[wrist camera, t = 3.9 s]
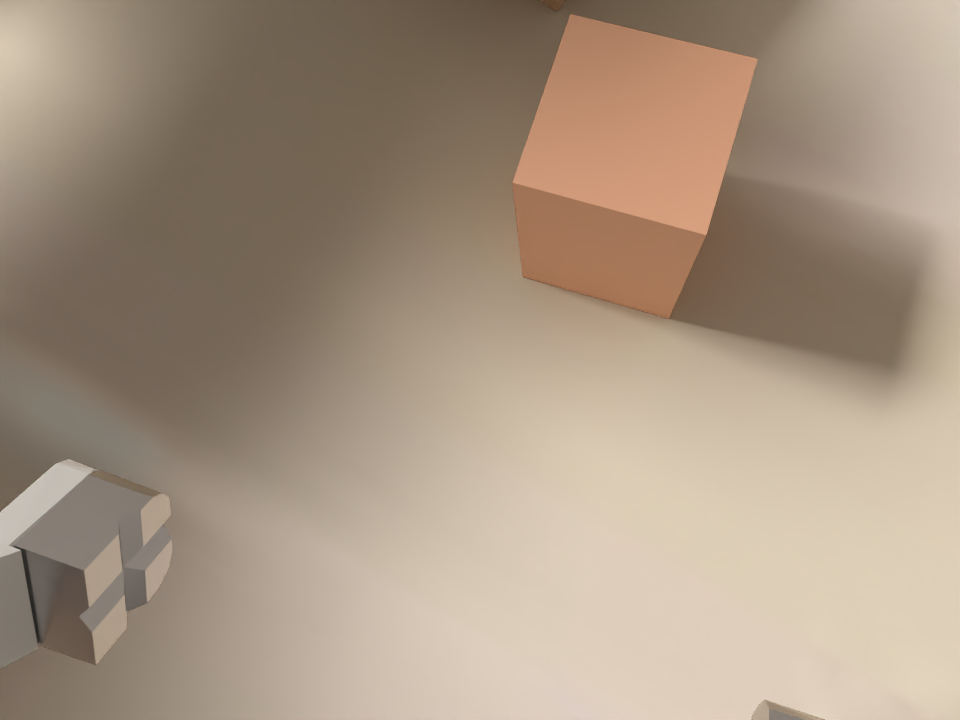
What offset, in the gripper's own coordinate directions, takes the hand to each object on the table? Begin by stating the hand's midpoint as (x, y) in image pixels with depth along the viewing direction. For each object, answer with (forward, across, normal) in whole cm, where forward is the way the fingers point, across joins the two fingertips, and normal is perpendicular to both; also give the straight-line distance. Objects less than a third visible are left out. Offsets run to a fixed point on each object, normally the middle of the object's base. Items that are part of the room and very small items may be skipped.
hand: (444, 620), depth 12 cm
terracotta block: (+20, 0, -3) cm, 20 cm away
